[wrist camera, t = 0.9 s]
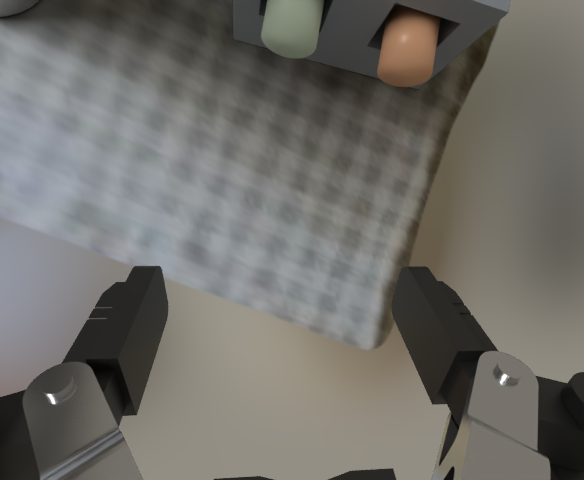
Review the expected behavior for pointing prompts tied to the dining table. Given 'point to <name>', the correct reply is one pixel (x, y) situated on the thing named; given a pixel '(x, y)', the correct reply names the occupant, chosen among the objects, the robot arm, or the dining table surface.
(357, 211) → the dining table surface
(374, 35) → the block
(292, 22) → the sage button
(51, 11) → the dining table surface
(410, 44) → the terracotta button
